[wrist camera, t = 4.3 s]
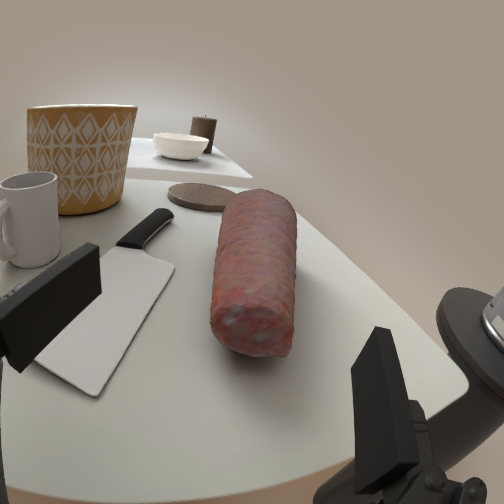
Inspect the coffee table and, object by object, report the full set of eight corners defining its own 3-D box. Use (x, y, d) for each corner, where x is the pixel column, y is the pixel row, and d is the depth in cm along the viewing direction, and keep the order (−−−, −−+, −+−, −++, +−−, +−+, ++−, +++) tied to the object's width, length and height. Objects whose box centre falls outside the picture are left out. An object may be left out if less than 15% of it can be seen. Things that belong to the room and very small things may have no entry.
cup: (71, 247, 31) (69, 175, 27) (19, 289, 22) (4, 202, 18) (33, 235, 31) (29, 169, 27) (-18, 270, 22) (-31, 193, 18)
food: (217, 245, 39) (229, 180, 36) (285, 257, 40) (302, 195, 37) (197, 366, 20) (212, 262, 16) (318, 379, 21) (363, 286, 18)
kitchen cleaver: (95, 391, 15) (-7, 324, 15) (97, 404, 16) (-2, 339, 15) (210, 223, 43) (150, 202, 43) (207, 233, 44) (148, 212, 44)
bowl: (216, 162, 94) (220, 141, 91) (176, 165, 79) (180, 140, 76) (179, 151, 102) (182, 133, 99) (139, 154, 87) (142, 132, 84)
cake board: (241, 196, 63) (242, 190, 62) (236, 217, 50) (237, 211, 50) (178, 184, 62) (178, 179, 61) (158, 203, 49) (158, 196, 49)
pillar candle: (212, 154, 108) (219, 117, 102) (187, 151, 105) (193, 113, 99) (209, 150, 116) (216, 116, 110) (186, 148, 114) (192, 112, 107)
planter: (47, 184, 48) (51, 105, 41) (132, 186, 55) (141, 105, 48) (8, 219, 32) (7, 110, 25) (121, 223, 39) (131, 106, 32)
